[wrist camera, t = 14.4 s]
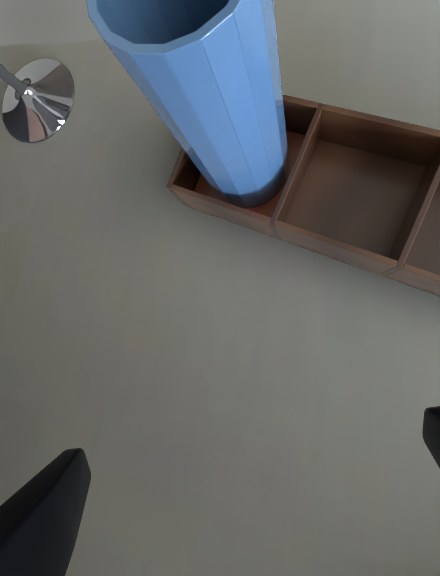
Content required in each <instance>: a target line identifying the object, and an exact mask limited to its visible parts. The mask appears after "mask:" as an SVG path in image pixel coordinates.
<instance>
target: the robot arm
mask: <svg viewBox="0 0 440 576" xmlns="http://www.w3.org/2000/svg"><path fill="white" fill-rule="evenodd" d="M422 433H423V439H424V442H425V444H426V446H427V447H428V449H429V451H430V452H431V454H432V456H433V458H434V459H435V461H436V463H437V465H438V466H439V468H440V406H437V407H429V408H426V410H425V411H424V420H423V432H422ZM90 480H91V472H90V468H89V465H88V462H87V459H86V456H85V453H84V450H83V449H81V448H75V449H68V450H65V451H64V452H62V453H61V454H60V455H59V456H58V457H57V458H55V459H54V460H53V461H52V462H51V463H50V464H48V465H47V466H46V467H45V468H44V469H43V470H42V471H40V472H39V473H38V474H37V475H36V476H35V477H33V478H32V479H31V480H30V481H29V482H28V483H26V484H25V485H24V486H23V487H22V488H21V489H19V490H18V491H17V492H16V493H15V494H14V495H12V496H11V497H10V498H9V499H8V500H7V501H6V502H4V503H3V504H2V505H1V506H0V576H65V574H66V571H67V568H68V565H69V562H70V559H71V556H72V552H73V549H74V546H75V542H76V538H77V534H78V530H79V526H80V522H81V518H82V514H83V510H84V506H85V501H86V497H87V493H88V489H89V485H90Z"/></svg>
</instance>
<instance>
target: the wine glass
mask: <svg viewBox="0 0 440 576" xmlns="http://www.w3.org/2000/svg"><path fill="white" fill-rule="evenodd" d="M0 78H1V79H2V80H4V81H5V82H6V83H8V84H9V85H8V87H7V90H6V92H5V95H4V99H3V106H2V114H3V120H4V123H5V126H6V128H7V129H8V131H9V133H10V134H11V135H12V136H13V137H15V138H16V139H17V140H20V141H22V142H27V143H34V142H39V141H42V140H44V139H46V138H48V137H50V136H51V135H53V134H54V133H55V132H56V131H57V130H58V129H59V128H60V127H61V126H62V124H63V123H64V122H65V120H66V118H67V117H68V115H69V112H70V110H71V107H72V104H73V99H74V84H73V79H72V77H71V74H70V72H69V71H68V69H67V68H66V67H65V66H64V65H63V64H62V63H60V62H58V61H56V60H53V59H38V60H35V61H33V62H31V63H29V64H27V65H26V66H24V67H23V68H22V69H21V70H20V71H19V72H18V73H17V74H16V75H15V76H14V75H13V74H12V73H10V72H9V71H8V70H7V69H6V68H5V67H3V66H2V65H1V64H0Z"/></svg>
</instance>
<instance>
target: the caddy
mask: <svg viewBox="0 0 440 576" xmlns="http://www.w3.org/2000/svg"><path fill="white" fill-rule="evenodd" d="M282 97H283V107H284V117H285V128H286V138H287V148H288V158H289V166H288V175H287V178H286V181H285V183H284V185H283V187H282V188H281V190H280V191H279V192H278V194H277V195H276V196H275V197H274V198H272V199H271V200H270V201H268V202H266V203H265V204H263V205H260V206H257V207H253V208H241V207H238V206H235V205H232V204H229V203H226V202H224V201H223V200H222V199H221V198H220V197H219V196H218V195H217V194H216V193H215V191H214V190H213V188H212V187H211V186H210V184H209V183H208V182H207V180H206V179H205V178H204V176H203V175H202V173H201V172H200V171H199V169H198V168H197V167H196V165H195V164H194V163H193V161H192V160H191V158H190V157H189V156H188V154H187V153H186V152H185V150H184V149H183V148H182V150H181V152H180V155H179V157H178V160H177V162H176V165H175V167H174V170H173V172H172V175H171V177H170V180H169V182H168V184H167V188H168V189H169V190H170V191H171V192H172V193H173V194H174V195H175V196H177V197H178V198H179V199H180V200H181V201H182V202H183V203H184V204H185V205H187V206H188V207H191V208H194V209H197V210H200V211H202V212H205V213H208V214H211V215H214V216H216V217H219V218H222V219H225V220H228V221H230V222H233V223H236V224H239V225H242V226H244V227H247V228H250V229H253V230H256V231H258V232H261V233H264V234H267V235H270V236H272V237H275V238H278V239H281V240H284V241H286V242H289V243H292V244H295V245H298V246H300V247H303V248H306V249H309V250H312V251H314V252H317V253H320V254H323V255H326V256H328V257H331V258H334V259H337V260H340V261H342V262H345V263H348V264H351V265H354V266H356V267H359V268H362V269H365V270H368V271H370V272H373V273H376V274H379V275H382V276H385V277H387V278H390V279H393V280H396V281H399V282H401V283H404V284H407V285H410V286H413V287H415V288H418V289H421V290H424V291H427V292H429V293H432V294H435V295H438V296H440V130H436V129H431V128H427V127H422V126H418V125H414V124H409V123H405V122H400V121H396V120H392V119H387V118H383V117H378V116H374V115H370V114H365V113H361V112H356V111H352V110H348V109H343V108H339V107H334V106H330V105H326V104H325V105H324V104H321V103H317V102H313V101H308V100H304V99H299V98H295V97H291V96H286V95H282Z"/></svg>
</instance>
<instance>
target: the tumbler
mask: <svg viewBox="0 0 440 576" xmlns="http://www.w3.org/2000/svg"><path fill="white" fill-rule="evenodd" d="M86 1H87V8H88V15H89V18H90V20H91V21H92V22H93V24H94V26H95V27H96V29H97V30H98V32H99V34H100V35H101V37H102V38H103V40H104V41H105V43H106V44H107V45H108V47H109V48H110V50H111V51H112V52H113V54H114V55H115V56H116V58H117V59H118V60H119V62H120V63H121V64H122V66H123V67H124V69H125V70H126V71H127V73H128V74H129V75H130V77H131V78H132V79H133V81H134V82H135V84H136V85H137V86H138V88H139V89H140V90H141V92H142V93H143V94H144V96H145V97H146V99H147V100H148V101H149V103H150V104H151V105H152V107H153V108H154V109H155V111H156V112H157V114H158V115H159V116H160V118H161V119H162V120H163V122H164V123H165V124H166V126H167V127H168V129H169V130H170V131H171V133H172V134H173V135H174V137H175V138H176V139H177V141H178V142H179V143H180V145H181V146H182V148H183V149H184V150H185V152H186V153H187V154H188V156H189V157H190V158H191V160H192V161H193V163H194V164H195V165H196V167H197V168H198V169H199V171H200V172H201V173H202V175H203V176H204V178H205V179H206V180H207V182H208V183H209V184H210V186H211V187H212V188H213V190H214V191H215V193H216V194H217V195H218V196H219V197H220V198H221V199H222V200H223V201H224V202H226V203H229V204H232V205H235V206H238V207H241V208H253V207H257V206H260V205H263V204H265V203H266V202H268V201H270V200H271V199H272V198H274V197H275V196H276V195H277V194H278V192H279V191H280V190H281V188H282V187H283V185H284V183H285V181H286V178H287V175H288V166H289V158H288V148H287V138H286V128H285V117H284V107H283V97H282V87H281V77H280V66H279V56H278V46H277V36H276V26H275V15H274V5H273V0H86Z"/></svg>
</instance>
